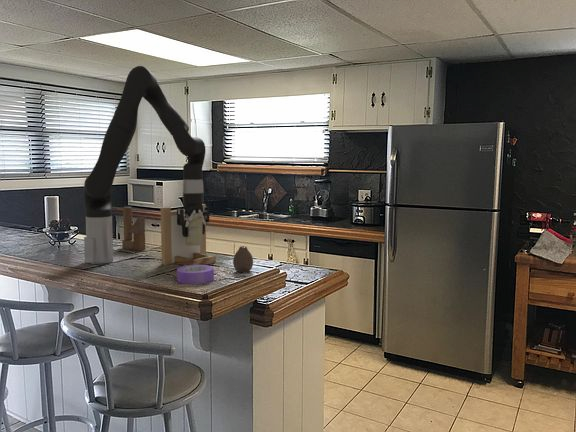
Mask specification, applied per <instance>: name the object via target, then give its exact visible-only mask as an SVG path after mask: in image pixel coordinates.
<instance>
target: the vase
mask: <svg viewBox="0 0 576 432" xmlns="http://www.w3.org/2000/svg"><path fill="white" fill-rule="evenodd" d="M232 264H233V267H234V270H235V271H236V273H239V272H247V273H250V271H251V270H253V269H252V268H253V265H254V257H253V255H252V253H251V252H250V250H249V248H248V247H247V246H243V245H242V246H241V245H240V246H239V248H238V250H237V251H236V252H235V253H234V256H233V259H232Z"/></svg>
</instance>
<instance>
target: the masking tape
mask: <svg viewBox="0 0 576 432" xmlns="http://www.w3.org/2000/svg"><path fill="white" fill-rule="evenodd" d="M214 268H215V267H214V266H211V265H209V264H206V265H188V266H186V265H182V266H180V267H178V268H177V269H176V281H177V282H178V283H180V284H191V285H194V284H195V285H199V284H206V283H210V282H212V280H213V281H214V279H215V276H214V275H215V271H214Z"/></svg>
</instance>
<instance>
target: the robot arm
mask: <svg viewBox="0 0 576 432" xmlns="http://www.w3.org/2000/svg"><path fill="white" fill-rule="evenodd" d="M142 99H144V100H145V101H147V103H148V104H149V105H150V106H151V107H152V108H153V110H154V111H155V113H156V114H157V116H158V118H159V119H160V122H161V123H162V124H163V125H164V127H165V128H166V130H167V131H168V132H169V134H170V135H171V137H172V139H173V141H174V144H175V145H176V148H177V149H178V151H179V152H180V153H181V154H182V155H184V156H185V157H188V158H187V162H186V163H185V164H184V165H183V168H182V172H183V174H182V179H183V181H182V203H183V205H184V206H183V208H177V209H176V210H177V225H180V226H182V235H183V236H184V237H188V227H187V226H188V224H189V222H191V220H192V218H193V216H194V214H195V213H202V211H203V225H202V235H203V234H204V233H205V224H208V223H210V206H206V207H205V206H204V207H203V206H202V204H205V203H204V202H205V201H204V199H205V198H204V181H203V180H204V179H203V167H204V166H203V165H204V162H205V157H206V145H205V141H204V140H203V139H202V138H200V137H196V136H195V137H193V136H192V135H191V134H190V132H189V130H190V126H189V125H188V124H187V122H186V121H185V120H184V118H183V116H181V114H180V113H179V112H178V110H177V109H176V108H175V107H174V106H173V105H172V103H170V102H169V100H168V98H167V97H166V95H165V93H164V92H163V90H162V88H161V86H160V85H159V82H158V80H157V78H156V76H155V74H153V73H152V72H151V71H150V70H149V69H148V68H147V67H145V66H144V65H137V66H135V67H133V68H132V69H131V70H130V71H129V73H128V75H127V77H126V79H125V83H124V86H123V90H122V93H121V96H120V100H119V102H118V104H117V107H116V109H115V111H114V114H113V115H112V116H113V117H112V118H111V120H110V122H109V124H108V127H107V129H106V132H105V134H104V137H103V140H102V143H101V148H100V153H99V156H98V159H97V161H96V163H95V164H94V166H93V168H92V170H91V172H90V173H89V175H88V176H87V177H86V178H85V180H84V185H83V187H84V188H83V189H84V211H85V236H84V237H83V242H84V245H83V247H84V248H83V249H84V262H85V263H86V264H90V265H97V264H100V265H101V264H102V265H103V264H108V263H112V262H114V236H113V235H114V234H113V230H114V229H113V208H112V207H113V206H112V187H113V183H114V180H115V176H116V173H117V170H118V168H119V165H120V163H121V162H122V160H123V158H124V156H125V155H126V153H127V151H128V150H129V146H130V145H131V142H132V140H133V138H134V136H135V134H136V131H137V125H138V112H139V106H140V104H141V101H142ZM186 213H187V215H188V216H189V218H186ZM184 214H185V215H184Z"/></svg>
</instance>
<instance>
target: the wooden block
mask: <svg viewBox="0 0 576 432" xmlns="http://www.w3.org/2000/svg"><path fill="white" fill-rule="evenodd" d="M122 208H123V209H122V211H123V215H122V216H123V239H122V242H121V243H122V246H121V247H122V249H125V248H126V250H133V251H145V250H146V234H145V233H146V219H145V218H146V217H145V216H142V217H140V216H139V217H137V219H136V220H135V221H134V223H133V207H132V206H123V207H122Z"/></svg>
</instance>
